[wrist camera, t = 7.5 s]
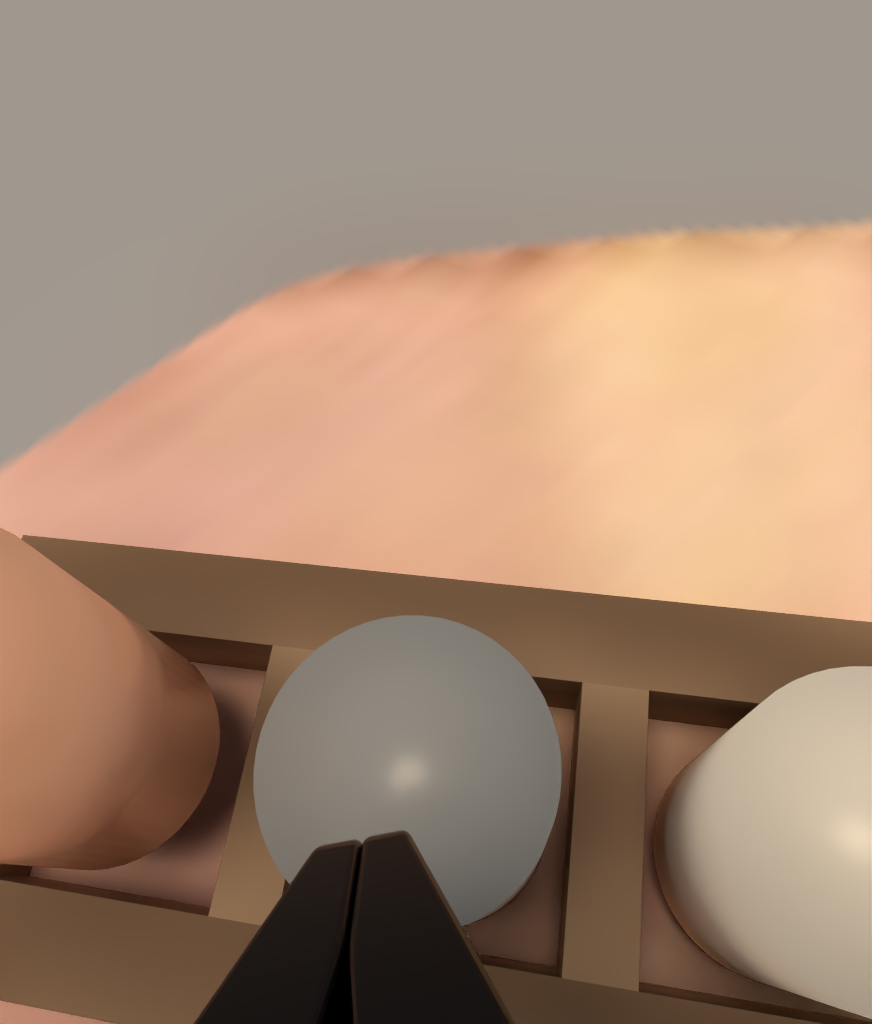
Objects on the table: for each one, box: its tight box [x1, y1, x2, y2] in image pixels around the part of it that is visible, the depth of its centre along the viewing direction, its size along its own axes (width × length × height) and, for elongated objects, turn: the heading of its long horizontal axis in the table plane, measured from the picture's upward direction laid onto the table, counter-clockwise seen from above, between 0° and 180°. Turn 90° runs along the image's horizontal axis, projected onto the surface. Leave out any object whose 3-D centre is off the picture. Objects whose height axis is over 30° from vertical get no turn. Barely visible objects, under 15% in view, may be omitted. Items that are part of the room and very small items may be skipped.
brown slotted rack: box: [0, 535, 872, 1024], centre depth 17 cm, size 9×21×2 cm, turn 82°
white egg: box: [653, 666, 872, 1019], centre depth 13 cm, size 4×4×6 cm
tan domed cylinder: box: [0, 528, 220, 870], centre depth 13 cm, size 4×4×6 cm
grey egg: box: [253, 615, 562, 926], centre depth 14 cm, size 4×4×6 cm
